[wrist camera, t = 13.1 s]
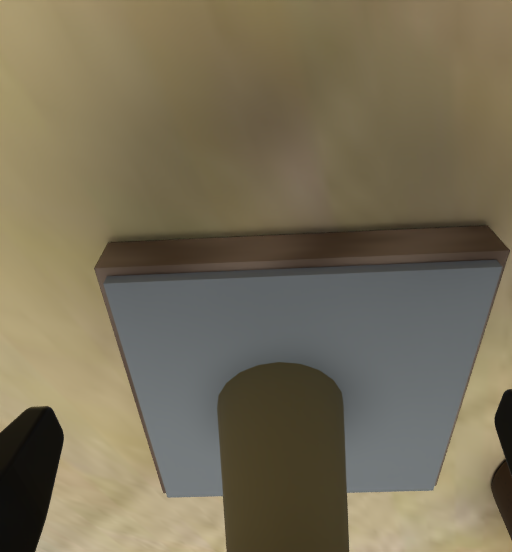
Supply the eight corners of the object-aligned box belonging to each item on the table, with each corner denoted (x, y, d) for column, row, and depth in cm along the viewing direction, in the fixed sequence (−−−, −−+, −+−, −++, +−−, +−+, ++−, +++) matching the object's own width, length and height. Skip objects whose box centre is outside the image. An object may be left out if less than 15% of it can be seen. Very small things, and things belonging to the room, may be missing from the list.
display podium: (487, 225, 19) (516, 257, 17) (425, 454, 28) (439, 494, 26) (108, 242, 19) (90, 275, 17) (168, 462, 28) (161, 501, 26)
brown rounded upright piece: (234, 350, 19) (213, 689, 10) (364, 376, 20) (451, 709, 11) (204, 434, 23) (169, 747, 13) (317, 454, 23) (356, 759, 14)
